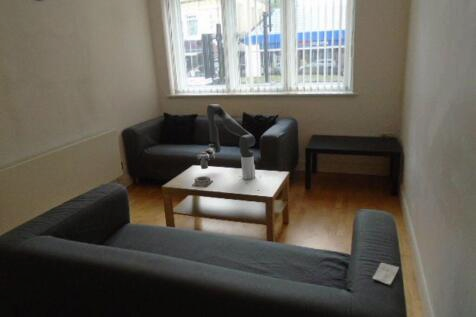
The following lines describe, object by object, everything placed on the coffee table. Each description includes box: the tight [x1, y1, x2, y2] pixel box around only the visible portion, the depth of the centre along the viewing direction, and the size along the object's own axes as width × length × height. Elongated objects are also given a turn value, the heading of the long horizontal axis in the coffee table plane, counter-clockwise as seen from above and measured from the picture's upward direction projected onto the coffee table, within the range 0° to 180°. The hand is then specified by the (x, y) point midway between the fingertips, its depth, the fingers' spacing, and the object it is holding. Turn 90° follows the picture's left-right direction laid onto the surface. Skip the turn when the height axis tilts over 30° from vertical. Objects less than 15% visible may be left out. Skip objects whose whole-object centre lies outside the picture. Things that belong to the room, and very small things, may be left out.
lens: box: [199, 151, 209, 170], centre depth 280 cm, size 5×5×12 cm
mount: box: [191, 175, 214, 188], centre depth 279 cm, size 12×12×4 cm
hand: (202, 159), depth 277 cm, fingers closed on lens, 5 cm apart
